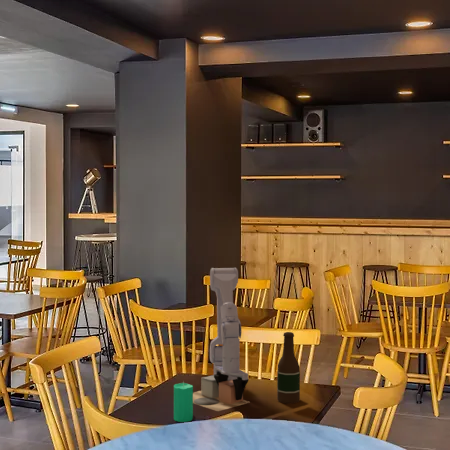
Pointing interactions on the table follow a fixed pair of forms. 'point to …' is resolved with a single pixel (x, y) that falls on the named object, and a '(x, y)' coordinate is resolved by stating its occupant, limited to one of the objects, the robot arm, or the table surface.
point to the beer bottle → (288, 373)
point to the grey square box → (209, 387)
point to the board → (214, 402)
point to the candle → (183, 402)
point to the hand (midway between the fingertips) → (230, 397)
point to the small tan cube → (227, 392)
